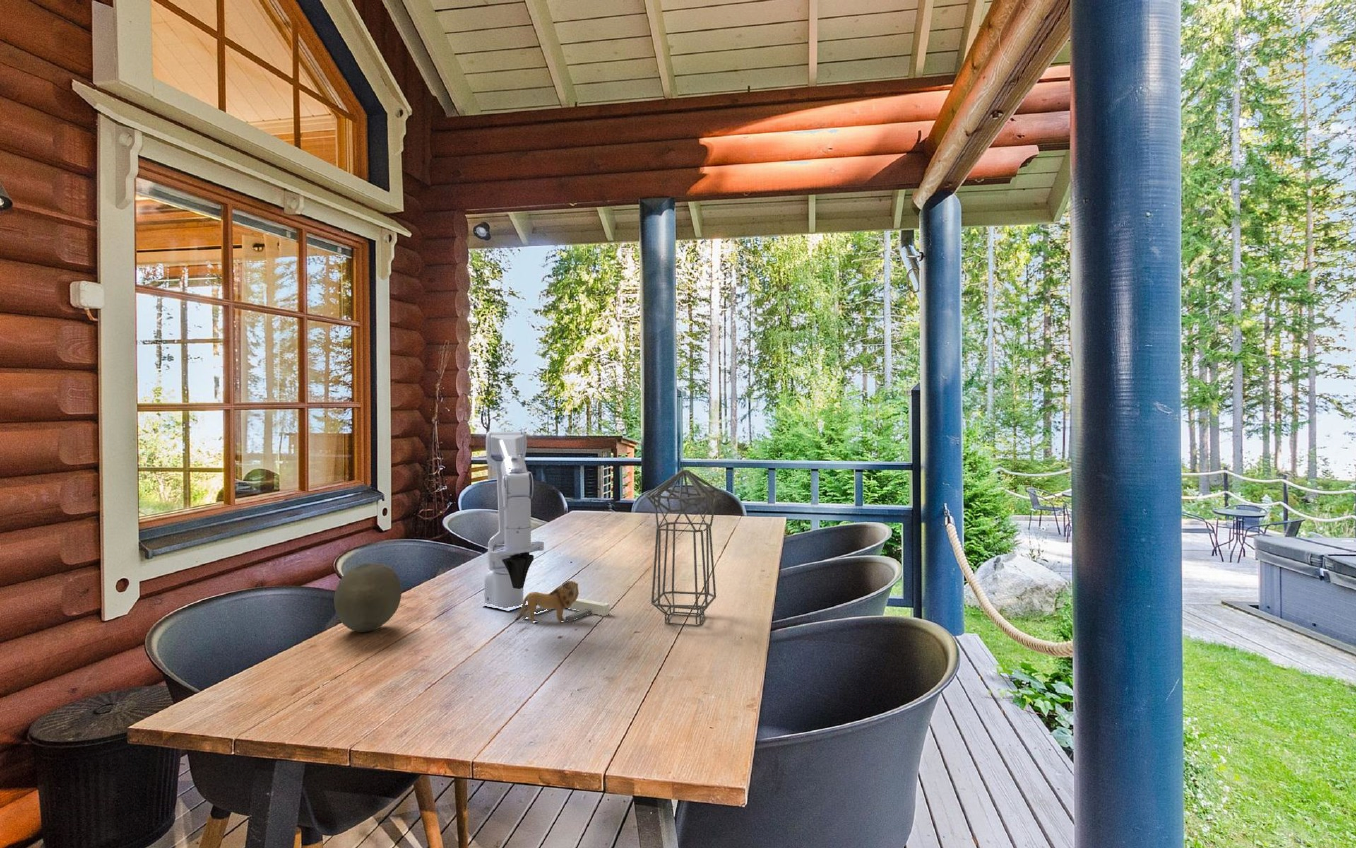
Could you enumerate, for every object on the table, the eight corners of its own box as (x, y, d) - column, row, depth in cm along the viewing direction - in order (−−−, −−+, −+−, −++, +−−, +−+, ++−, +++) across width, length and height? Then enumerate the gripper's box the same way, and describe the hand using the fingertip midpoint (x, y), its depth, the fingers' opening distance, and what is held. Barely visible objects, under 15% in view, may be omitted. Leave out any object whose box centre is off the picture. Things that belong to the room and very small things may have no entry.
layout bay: (520, 611, 162) (520, 601, 162) (547, 602, 170) (547, 592, 170) (584, 624, 152) (583, 613, 152) (609, 614, 160) (609, 603, 160)
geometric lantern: (643, 628, 149) (642, 472, 149) (661, 608, 165) (660, 467, 164) (712, 632, 146) (711, 473, 145) (724, 612, 161) (723, 467, 161)
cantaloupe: (318, 638, 143) (317, 569, 143) (366, 619, 157) (366, 556, 157) (371, 644, 139) (371, 573, 139) (417, 624, 152) (416, 559, 152)
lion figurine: (578, 615, 159) (577, 578, 159) (579, 622, 154) (579, 583, 154) (515, 619, 156) (514, 581, 156) (514, 626, 151) (513, 586, 151)
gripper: (506, 533, 140) (506, 597, 140) (553, 524, 152) (553, 583, 152) (482, 530, 144) (483, 593, 144) (530, 521, 156) (531, 579, 156)
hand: (518, 587), depth 148 cm, fingers closed
